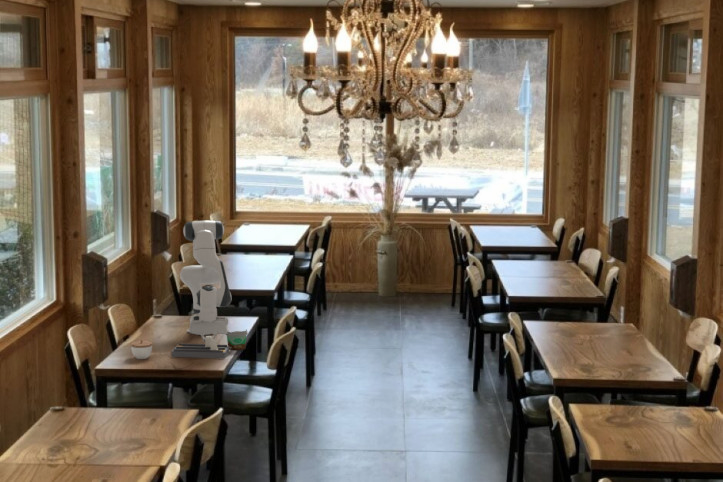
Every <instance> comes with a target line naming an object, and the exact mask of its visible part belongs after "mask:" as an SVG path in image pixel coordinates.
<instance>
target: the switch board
mask: <svg viewBox="0 0 723 482" xmlns="http://www.w3.org/2000/svg"><path fill="white" fill-rule="evenodd" d="M210 349H211V347H205V343H178V344H177V345H176V346H174V348H173V349H172V350H171V358H193V359H194V358H197V359H199V358H200V359H204V358H205V359H226V357H227V356H228V355H229V354H230V350H229V347H228V344H217V349H218V350H210Z"/></svg>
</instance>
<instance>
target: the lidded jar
mask: <svg viewBox="0 0 723 482" xmlns="http://www.w3.org/2000/svg"><path fill="white" fill-rule="evenodd" d="M130 346H131V347H130V348H131V353H132V355H133V357H135V359H136V360H145V359H149V357H150V355H151V353H152V349H153V343H152V342H151V341H148V340H143V339H140V340H137V341H136V340H135V341H133V342H131V343H130Z"/></svg>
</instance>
